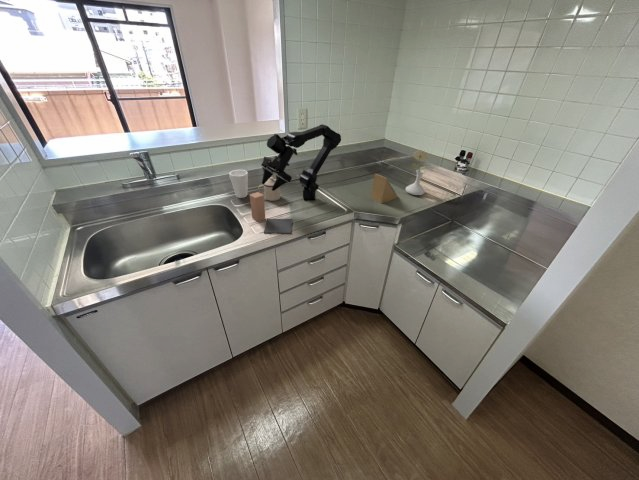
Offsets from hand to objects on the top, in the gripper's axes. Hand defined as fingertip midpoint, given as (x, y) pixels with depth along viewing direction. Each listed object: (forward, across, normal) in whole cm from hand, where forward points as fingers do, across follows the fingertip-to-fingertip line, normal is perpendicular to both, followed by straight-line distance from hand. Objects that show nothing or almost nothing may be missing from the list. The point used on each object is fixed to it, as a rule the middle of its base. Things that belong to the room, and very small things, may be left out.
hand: (267, 187), depth 125 cm
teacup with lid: (+5, -13, +15) cm, 21 cm away
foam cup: (+12, -24, +6) cm, 28 cm away
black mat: (+13, +15, +5) cm, 20 cm away
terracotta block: (+15, +3, +2) cm, 16 cm away
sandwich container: (-29, +24, +58) cm, 69 cm away
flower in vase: (-42, +30, +74) cm, 90 cm away
